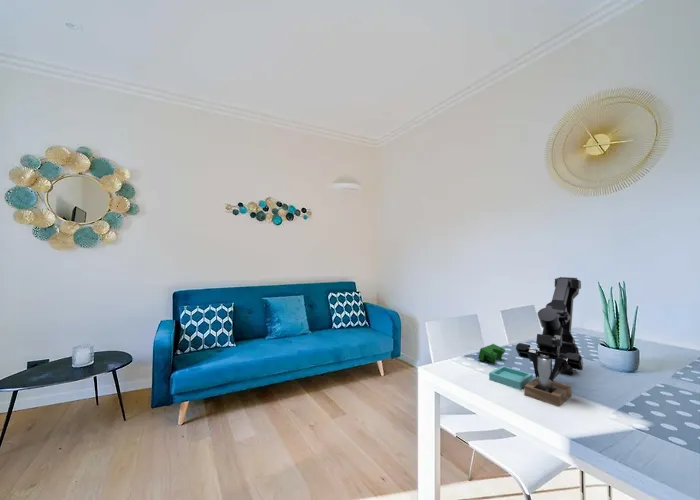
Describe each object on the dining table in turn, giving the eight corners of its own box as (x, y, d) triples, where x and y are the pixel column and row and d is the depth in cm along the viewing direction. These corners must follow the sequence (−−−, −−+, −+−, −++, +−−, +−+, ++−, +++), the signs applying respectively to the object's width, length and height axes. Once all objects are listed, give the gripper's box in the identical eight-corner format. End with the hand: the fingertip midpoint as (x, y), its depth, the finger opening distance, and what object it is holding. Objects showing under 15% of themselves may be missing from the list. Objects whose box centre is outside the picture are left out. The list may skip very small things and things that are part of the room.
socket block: (538, 384, 108) (538, 376, 108) (571, 394, 100) (571, 385, 100) (524, 394, 101) (524, 385, 101) (559, 406, 93) (559, 396, 93)
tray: (502, 371, 120) (502, 365, 120) (532, 380, 111) (532, 374, 111) (489, 379, 113) (489, 372, 113) (520, 389, 105) (520, 382, 105)
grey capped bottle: (540, 393, 102) (540, 352, 102) (554, 397, 99) (553, 355, 99) (536, 396, 99) (535, 354, 99) (549, 401, 96) (549, 357, 96)
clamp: (491, 373, 130) (491, 357, 126) (478, 365, 134) (478, 350, 131) (506, 357, 135) (506, 342, 132) (493, 351, 140) (493, 336, 136)
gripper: (517, 320, 109) (507, 358, 101) (581, 329, 95) (575, 374, 88) (523, 337, 114) (514, 375, 106) (585, 348, 101) (580, 392, 93)
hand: (543, 378), depth 98 cm, fingers closed on grey capped bottle, 4 cm apart
